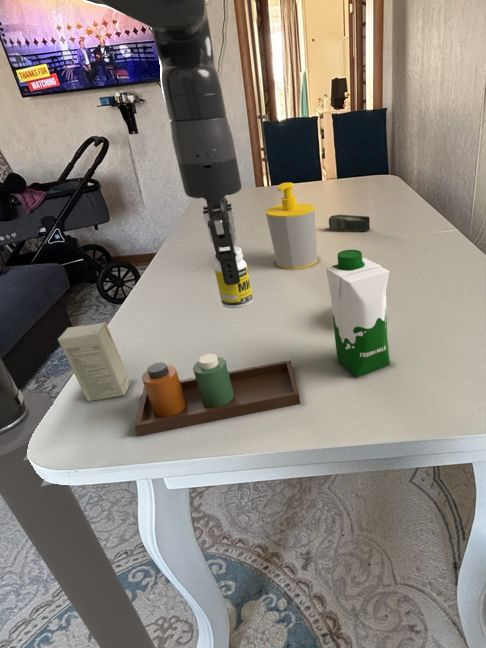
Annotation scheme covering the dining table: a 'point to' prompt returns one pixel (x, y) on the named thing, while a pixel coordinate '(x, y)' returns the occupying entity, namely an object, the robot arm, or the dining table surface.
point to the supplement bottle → (234, 293)
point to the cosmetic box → (95, 361)
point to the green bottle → (213, 380)
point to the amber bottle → (164, 389)
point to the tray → (249, 397)
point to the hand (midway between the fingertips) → (232, 276)
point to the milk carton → (359, 312)
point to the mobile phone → (349, 223)
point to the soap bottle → (292, 231)
